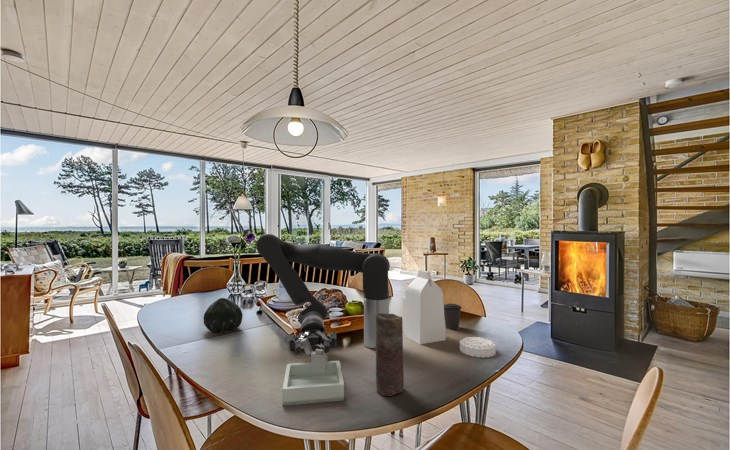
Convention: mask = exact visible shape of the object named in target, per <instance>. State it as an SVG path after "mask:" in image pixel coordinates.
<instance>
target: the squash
mask: <svg viewBox="0 0 730 450" xmlns="http://www.w3.org/2000/svg"><path fill="white" fill-rule="evenodd" d="M243 316H244V315H243V312H242V309H241V308H240V306H239V305H238V304H237V303H235V302H234V301H232V300H230V299H228V298H225V297H221V298H218V299H217V300H215V301H213V303H211V304H210V305H209V306H208V307H207V309H206V310H205V312H204V314H203V324H204V326H205V328H206V329H207V330H208V331H210V332H212V333H213V334H214V335H219V334H222V335H224V334H226V333H228V332H229V333H231V332H234V331H236V330H237V329H238V328H239V327H240V325H241V323H242V321H243Z"/></svg>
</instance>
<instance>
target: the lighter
mask: <svg viewBox="0 0 730 450" xmlns="http://www.w3.org/2000/svg"><path fill="white" fill-rule="evenodd" d="M301 343H302V346H303V348H304V349H303V348H302V349H303V350H304V353H305V354H306V356H309V355H310V362H311V370H317V371H326V370H327V361H328V352H327V353H324V348H316V349H315V351H314V350H313V347H311V345H310V343H309V341H308V338H305V339H303V340H302V341H301Z"/></svg>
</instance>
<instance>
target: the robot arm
mask: <svg viewBox="0 0 730 450" xmlns="http://www.w3.org/2000/svg"><path fill="white" fill-rule="evenodd" d="M255 247H256V250H257V253H258V254H259V256H261V257H262V258H263V259H264V260H265V261H266V263H267V264H268V265H269V266H270V268H271V269H272V270H273V273H275V275H276V277H277V278H278V279H279V281H280V283H281V284H282V286H283V288H284V290H285V291H286V293H287V294H288V296H289V298H290V299H291V301H292V302H293V304H294V305H296V306H300V305H301V306H302V305H304V304H305V303H309V306H307V307H305V308H304V309H303V310H301V311H300V312H299V313H298V315H297V320H298V323H299V324H300V329H299V331H300V332H299V334H298V335H295V334H293V333H289V334H288V348H289V349H288V350H294V353H295V354H297V355H299V356H300V355H301V353H302V349H303V350H304V348H303V346H302V343H301V341H302V340H303V339H305V338H308V341H309V343H310V345H311V348H315V347H319V348H320V349H323V350H324V353H328V352H330V349H331V348H336V344H337V332H336V331H332V332H331V333H329V334H328V333H327V332H326V327H325V323H324V320H325V319H326V318H327V317H328V309H327V307H326V306H325V305H324V304H323V303H322V302H321V301H320V300H319V299H318V298H316V297H315V296H314V295H313V293H312V292H311V291H310V290H309V288H308V287H307V285H306V283H305V282H304V280H303V279H302V278H301V276H300V275H299V274H298V272H297V271H296V270H295V269H294V267H293V266H292V265H291V264H290V262H291V263H295V264H299V265H301V266H302V265H303V266H305V267H311V268H315V269H320V270H325V271H326V270H327V271H352V272H358V273H361V274H362V291H363V346H364V347H366V348H369V349H375V350H376V314H378V313H383V314H384V313H385V314H390V290H389V270H390V267H391V266H390V265H391V264H390V261H389V259H388V258H387V256H385V255H383V254H382V253H372V252H371V253H370V252H369V253H368V252H357V251H352V250H349V249H346V248H345V249H344V248H341V247H337V246H331V245H327V244H326V245H325V244H321V243H307V244H304V243H303V244H298V243H292V242H288V241H285V240H282V239H280V237H278V236H276V235H274V234H272V233H265V234H262V235H261V236H259V237H258V239H257V241H256V246H255Z"/></svg>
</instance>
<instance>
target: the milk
mask: <svg viewBox="0 0 730 450" xmlns="http://www.w3.org/2000/svg"><path fill="white" fill-rule="evenodd" d="M404 302H405V303H404V320H403V321H404V322H403V336H405V337H407V338H408V339H410V340H412V341H414V342H416V343H417V344H419V345H424V344H431V343H436V342H443V341H446V325H445V317H444V305H445V302H444V293H443V290H442V288H441V287H440V286H439V285H438V284H437V283H436V282H435V281H434V280H433V279H432V277H431V272H430V271H426V270H424V269H423V270H421V269H420V270H419V269H418V272H417V275H416V277H415V278H414V279H413V280H412V281H411V282H410V284H408V286H407V288H406V289H405V300H404Z"/></svg>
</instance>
